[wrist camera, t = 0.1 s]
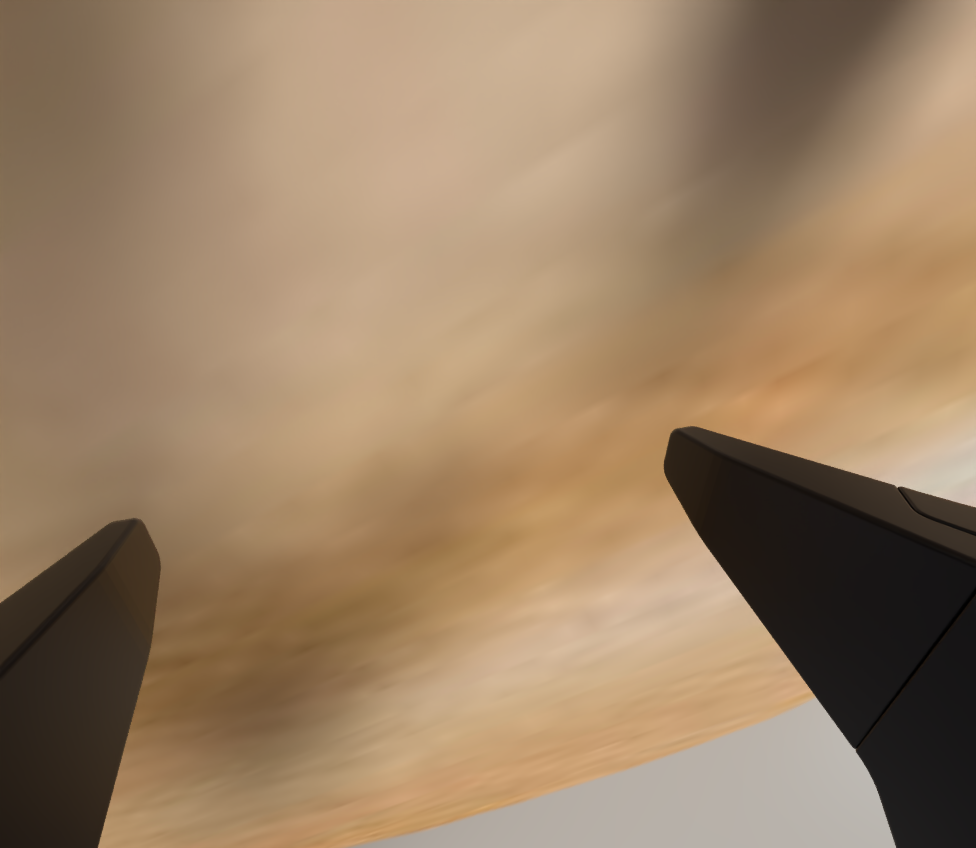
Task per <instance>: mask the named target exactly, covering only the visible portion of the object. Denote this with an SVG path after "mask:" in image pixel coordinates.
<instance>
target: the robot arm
mask: <svg viewBox="0 0 976 848" xmlns="http://www.w3.org/2000/svg"><path fill="white" fill-rule="evenodd" d="M664 473H665V476H666V478H667V480H668V482H669V484H670V485H671V487H672V489H673V491H674V493H675V494H676V496H677V498H678V500H679V501H680V503H681V505H682V507H683V509H684V510H685V512H686V514H687V516H688V517H689V519H690V521H691V523H692V525H693V526H694V528H695V530H696V531H697V533H698V535H699V536H700V538H701V539H702V540H703V542H704V543H705V545H706V546H707V548H708V549H709V550H710V552H711V553H712V555H713V556H714V557H715V559H716V560H717V561H718V563H719V564H720V566H721V567H722V568H723V570H724V571H725V572H726V574H727V575H728V577H729V578H730V579H731V581H732V582H733V583H734V585H735V586H736V588H737V589H738V590H739V592H740V593H741V594H742V596H743V597H744V599H745V600H746V601H747V603H748V604H749V605H750V607H751V608H752V609H753V611H754V612H755V614H756V615H757V616H758V618H759V619H760V621H761V622H762V623H763V625H764V626H765V627H766V629H767V630H768V632H769V633H770V634H771V636H772V637H773V638H774V640H775V641H776V643H777V644H778V645H779V647H780V648H781V649H782V651H783V652H784V654H785V655H786V656H787V658H788V659H789V660H790V662H791V663H792V665H793V666H794V667H795V669H796V670H797V671H798V673H799V674H800V676H801V677H802V678H803V680H804V681H805V682H806V684H807V685H808V687H809V688H810V689H811V691H812V692H813V693H814V695H815V696H816V698H817V699H818V700H819V702H820V703H821V704H822V706H823V707H824V709H825V710H826V711H827V713H828V714H829V716H830V717H831V718H832V720H833V721H834V722H835V724H836V725H837V727H838V728H839V729H840V731H841V732H842V733H843V735H844V736H845V737H846V739H847V740H848V742H849V743H850V744H851V746H852V747H853V748H854V749H856V753H857V754H858V755H859V757H860V758H861V760H862V761H863V763H864V765H865V766H866V768H867V769H868V771H869V773H870V775H871V777H872V779H873V781H874V784H875V785H876V788H877V791H878V794H879V796H880V799H881V803H882V806H883V809H884V812H885V815H886V817H887V821H888V824H889V827H890V830H891V833H892V836H893V839H894V842H895V845H896V848H976V507H972V506H968V505H964V504H960V503H957V502H953V501H950V500H946V499H943V498H939V497H936V496H932V495H929V494H925V493H922V492H918V491H915V490H911V489H908V488H905V487H898V488H897V487H896V486H895V485H892V484H888V483H885V482H882V481H878V480H875V479H872V478H868V477H865V476H861V475H858V474H855V473H851V472H848V471H844V470H841V469H838V468H834V467H831V466H828V465H824V464H821V463H817V462H814V461H811V460H807V459H804V458H800V457H797V456H794V455H790V454H787V453H784V452H780V451H777V450H773V449H770V448H767V447H763V446H760V445H756V444H753V443H750V442H746V441H743V440H740V439H736V438H733V437H729V436H726V435H723V434H719V433H716V432H712V431H709V430H706V429H702V428H699V427H695V426H689V427H683V428H677V429H675V430H673V431H672V433H671V435H670V438H669V442H668V447H667V451H666V455H665V460H664ZM160 570H161V563H160V557H159V554H158V551H157V549H156V547H155V545H154V543H153V541H152V539H151V537H150V535H149V533H148V531H147V529H146V526H145V524H144V523H143V522H142V521H141V520H140V519H138V518H132V519H126V520H120V521H114V522H111V523H109V524H108V525H106V526H105V527H104V528H102V529H101V530H100V531H98V532H97V533H96V534H94V535H93V536H91V537H90V538H89V539H87V540H86V541H85V542H83V543H82V544H81V545H79V546H78V547H76V548H75V549H74V550H72V551H71V552H70V553H68V554H67V555H66V556H64V557H63V558H61V559H60V560H59V561H57V562H56V563H55V564H53V565H52V566H50V567H49V568H48V569H46V570H45V571H44V572H42V573H41V574H40V575H38V576H37V577H35V578H34V579H33V580H31V581H30V582H29V583H27V584H26V585H25V586H23V587H22V588H20V589H19V590H18V591H16V592H15V593H14V594H12V595H11V596H9V597H8V598H7V599H5V600H4V601H3V602H1V603H0V848H98V845H99V841H100V837H101V834H102V830H103V826H104V822H105V819H106V815H107V811H108V807H109V804H110V800H111V796H112V792H113V789H114V785H115V781H116V777H117V774H118V770H119V766H120V762H121V759H122V755H123V751H124V747H125V744H126V740H127V736H128V732H129V729H130V725H131V721H132V717H133V714H134V710H135V706H136V702H137V699H138V695H139V691H140V687H141V684H142V680H143V676H144V672H145V669H146V665H147V661H148V657H149V652H150V648H151V642H152V635H153V627H154V619H155V611H156V603H157V595H158V587H159V579H160Z"/></svg>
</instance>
